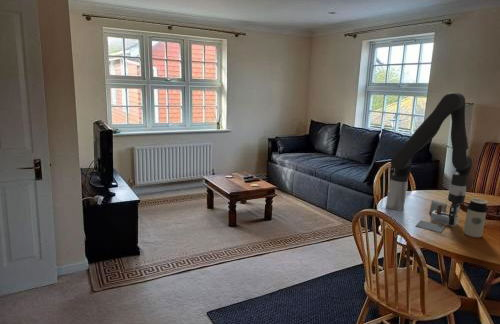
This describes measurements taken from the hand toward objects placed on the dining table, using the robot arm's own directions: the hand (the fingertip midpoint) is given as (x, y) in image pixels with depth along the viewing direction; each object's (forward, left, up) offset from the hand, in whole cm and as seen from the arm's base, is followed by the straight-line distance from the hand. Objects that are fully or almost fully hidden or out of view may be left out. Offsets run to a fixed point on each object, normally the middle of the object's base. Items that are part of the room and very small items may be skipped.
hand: (452, 222), depth 193 cm
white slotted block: (-4, 0, -1) cm, 4 cm away
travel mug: (+11, -8, -1) cm, 13 cm away
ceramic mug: (-10, +13, -1) cm, 17 cm away
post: (-7, 0, -1) cm, 7 cm away
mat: (-8, -12, -1) cm, 14 cm away
